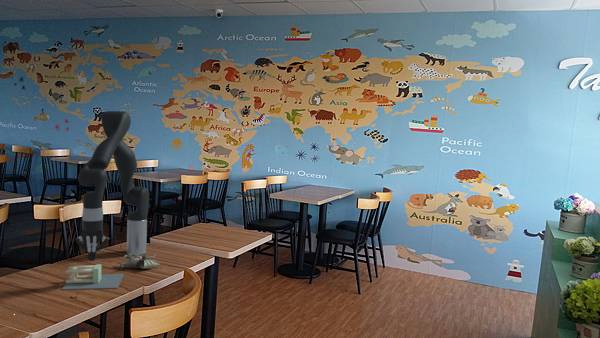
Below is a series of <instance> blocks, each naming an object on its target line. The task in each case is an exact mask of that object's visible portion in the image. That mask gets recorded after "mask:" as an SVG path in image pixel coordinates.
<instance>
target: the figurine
mask: <svg viewBox="0 0 600 338" xmlns="http://www.w3.org/2000/svg"><path fill="white" fill-rule="evenodd" d="M155 257H157V255H156V254H155V255H152V256H147V255H145V254H143V255H132V254H129V253H128V254H125V255H124V256H122V258H123V259H126V260H127V262H123V263H122V262H118V264H119V267H121V268H122V269H124V268H126V269H133V268H134V269H135V268H136V269H138V268H139V269H141V270H149V269H152V268H155V267H160V266H163V263H160V262H157V261H156V260H155ZM151 258H153V259H151Z"/></svg>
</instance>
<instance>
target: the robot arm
mask: <svg viewBox="0 0 600 338" xmlns="http://www.w3.org/2000/svg"><path fill="white" fill-rule="evenodd" d="M131 119H132V118H131V116H130V114H129V113H128V112H127V111H123V110H106V111H104V112H103V113H102V114H101V119H100V121H101V127H102V130H103V131H104V134H105V137H106V138H105V139H104V140H103V141H101V142H100V143H99V144H98V145H97V146H96V147H95V150H94V152H93V154H92V156H91V158H90V160H88V161H87V162H86V164H85V165H84V166H83V167H82V168H81V170H80V171H79V173H78V175H77V176H78V177H77V179H78V183H79V184H80V185H81V186H84V187H91V188H92V187H94V188H95V189H94V190H93V191H88V192H86V193H84V194H83V196H82V197H83V198H82V214H81V218H82V219H81V221H82V222H81V223H82V224H81V226H82V228H81V229H82V230H81V233H80V236H78V237H76V238H75V239H74V241H75V243H76V244H77V245H78V246H79V247H80V249H81V250H83V251H84V252H85V251H86V252H88V253H87V259H88V261H90V262H95V260H96V259H97V252H99V251H101V250H102V249H103V247H104V246H105V245H106V244H107V243H108V241H109V240H110V237H109V236H106V235H105V232H104V209H103V197H104V193H105V189H106V186H107V183H108V181H109V180H108V179H109V175H108V173H107V172H106V169H108V167H109V165H110V162H111V160H112V159H113V161H114V163H115V167H116V171H117V174H118V176H119V180H120V185H121V189H122V195H123V196H122V197H123V199H124V202H125V204H126V205H128V206H137V209H136V210H134V211H131V212H128V214H127V218H126V219H127V223H126V225H127V226H126V255H128V253H129V254H132V255H140V256H143V255H145V254H146V253H147V238H148V237H147V233H148V232H147V231H148V230H147V229H148V228H147V227H148V212H149V203H150V192H149V190H148V189H149V188H146V187H142V186H141V187H139V186H134V184H133V182H132V180H133V179H132V178H133V177H134V175H135V172H136V171H137V168H138V161H137V159H136V155H135V152H134V150H133V149H132V148H131V147H130V145H128V144H127V143H126V142H125V141H124V138H125V136H126V134H127V133H128V132H129V130H130V127H131ZM100 241H102V242H101V243H100V245H98V243H99V242H100Z"/></svg>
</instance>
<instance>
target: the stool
mask: <svg viewBox="0 0 600 338" xmlns="http://www.w3.org/2000/svg"><path fill="white" fill-rule="evenodd" d="M85 273H87V274H88V273H89V274H88V275H89V276H78V275H79V274H85ZM91 273H92V274H91ZM65 274H70V275H69V276H68V279H66V280H65V285H66V284H69V283H93V284H97V283H99V282H100V280H101V274H102V263H99V264H93V265H92V264H91V265H70V266H68V268H67V269H66V270H65Z"/></svg>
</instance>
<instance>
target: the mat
mask: <svg viewBox="0 0 600 338" xmlns="http://www.w3.org/2000/svg"><path fill="white" fill-rule="evenodd" d="M89 275H90V274H78V276H89ZM124 276H125V274H124V273H116V274H115V273H113V274H112V273H109V274H107V273H105V274H102V273H101V280H100V282H99V283H97V284H93V283H69V284H66V283H65V285H64V286H63V287H62V288H61V290H62V291H69V290H70V291H75V290H77V291H78V290H106V289H108V290H110V289H118V288H119V287H120V284H121V282H122V280H123V277H124Z"/></svg>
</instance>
